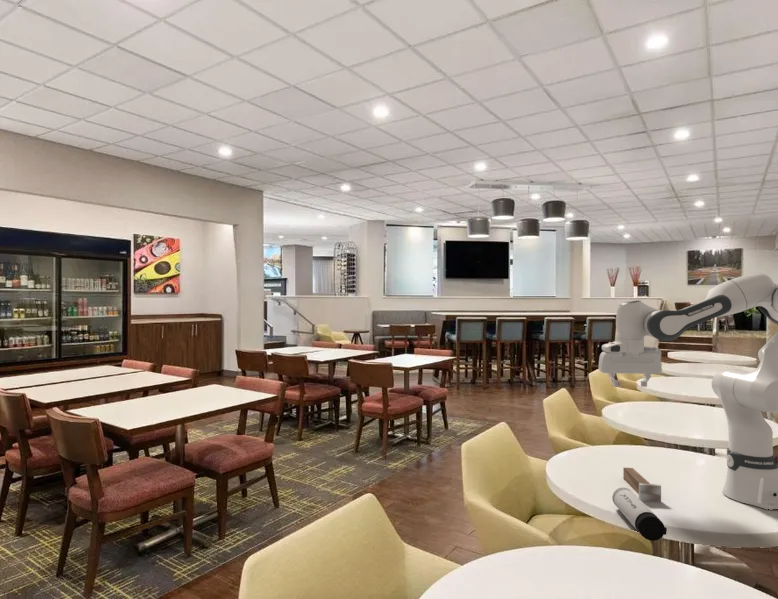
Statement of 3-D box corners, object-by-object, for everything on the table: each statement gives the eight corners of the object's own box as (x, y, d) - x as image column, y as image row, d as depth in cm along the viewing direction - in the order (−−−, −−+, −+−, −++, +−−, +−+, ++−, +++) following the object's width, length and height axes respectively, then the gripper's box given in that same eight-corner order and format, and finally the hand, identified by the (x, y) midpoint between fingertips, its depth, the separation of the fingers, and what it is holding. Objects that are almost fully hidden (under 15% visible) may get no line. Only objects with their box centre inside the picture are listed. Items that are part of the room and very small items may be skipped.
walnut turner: (637, 479, 167) (637, 465, 167) (661, 502, 148) (661, 485, 148) (618, 478, 168) (618, 464, 168) (640, 501, 149) (640, 484, 149)
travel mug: (634, 510, 143) (665, 544, 123) (610, 506, 144) (638, 540, 124) (636, 489, 143) (668, 519, 123) (613, 485, 144) (641, 515, 124)
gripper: (657, 346, 173) (657, 385, 173) (597, 345, 176) (597, 384, 176) (665, 348, 167) (665, 388, 167) (602, 347, 169) (602, 387, 169)
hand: (629, 386), depth 171 cm, fingers open, 8 cm apart
